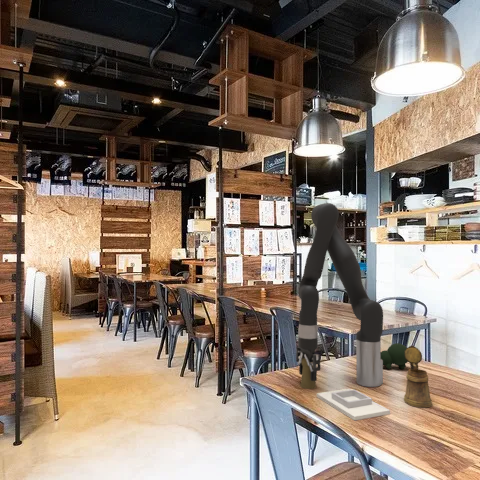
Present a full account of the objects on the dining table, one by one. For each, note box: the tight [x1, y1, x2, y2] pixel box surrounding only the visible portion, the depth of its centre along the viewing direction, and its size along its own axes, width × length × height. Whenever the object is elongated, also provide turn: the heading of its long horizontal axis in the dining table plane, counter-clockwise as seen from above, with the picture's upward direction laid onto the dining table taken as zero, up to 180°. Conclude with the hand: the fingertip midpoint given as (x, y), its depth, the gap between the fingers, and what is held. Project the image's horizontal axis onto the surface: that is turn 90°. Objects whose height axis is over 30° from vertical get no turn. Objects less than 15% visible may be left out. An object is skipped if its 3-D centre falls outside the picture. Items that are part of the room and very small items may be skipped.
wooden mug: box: [403, 344, 433, 409], centre depth 148 cm, size 9×14×18 cm, turn 170°
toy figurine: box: [381, 342, 409, 370], centre depth 187 cm, size 9×19×25 cm
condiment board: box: [316, 388, 391, 421], centre depth 144 cm, size 14×22×3 cm, turn 22°
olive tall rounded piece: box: [299, 358, 317, 390], centre depth 163 cm, size 6×6×11 cm
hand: (307, 377), depth 162 cm, fingers open, 8 cm apart
